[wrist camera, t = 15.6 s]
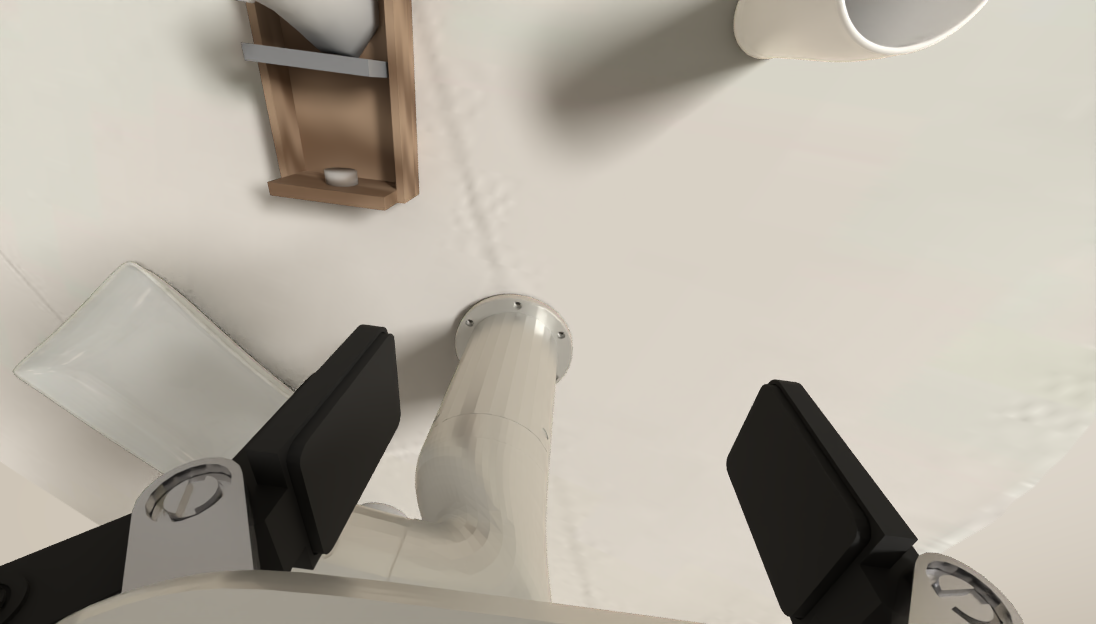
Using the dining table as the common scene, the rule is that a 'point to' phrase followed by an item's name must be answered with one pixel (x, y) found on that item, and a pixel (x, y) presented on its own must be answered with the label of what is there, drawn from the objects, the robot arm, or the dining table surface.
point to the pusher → (315, 60)
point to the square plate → (154, 374)
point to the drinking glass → (846, 27)
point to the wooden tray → (343, 116)
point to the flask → (330, 22)
